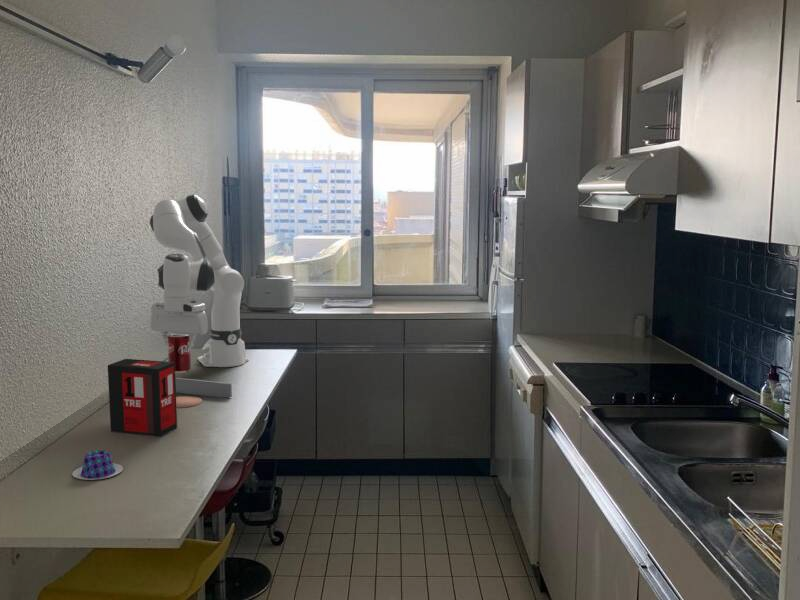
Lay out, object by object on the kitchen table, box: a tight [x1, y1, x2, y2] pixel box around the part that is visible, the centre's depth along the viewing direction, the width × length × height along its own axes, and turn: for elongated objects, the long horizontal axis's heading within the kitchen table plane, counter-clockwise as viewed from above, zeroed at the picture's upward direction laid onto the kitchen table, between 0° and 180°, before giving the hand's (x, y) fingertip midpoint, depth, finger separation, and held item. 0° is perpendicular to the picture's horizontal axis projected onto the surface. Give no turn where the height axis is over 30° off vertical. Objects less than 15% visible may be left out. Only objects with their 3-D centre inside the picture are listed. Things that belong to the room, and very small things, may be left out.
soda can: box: [167, 332, 192, 374], centre depth 266 cm, size 7×7×12 cm
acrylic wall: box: [175, 376, 233, 398], centre depth 278 cm, size 24×1×5 cm, turn 70°
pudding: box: [71, 450, 124, 481], centre depth 204 cm, size 12×12×5 cm
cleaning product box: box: [107, 358, 178, 438], centre depth 238 cm, size 16×9×20 cm, turn 74°
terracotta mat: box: [176, 395, 203, 409], centre depth 269 cm, size 13×13×1 cm
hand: (179, 346), depth 266 cm, fingers closed on soda can, 7 cm apart
